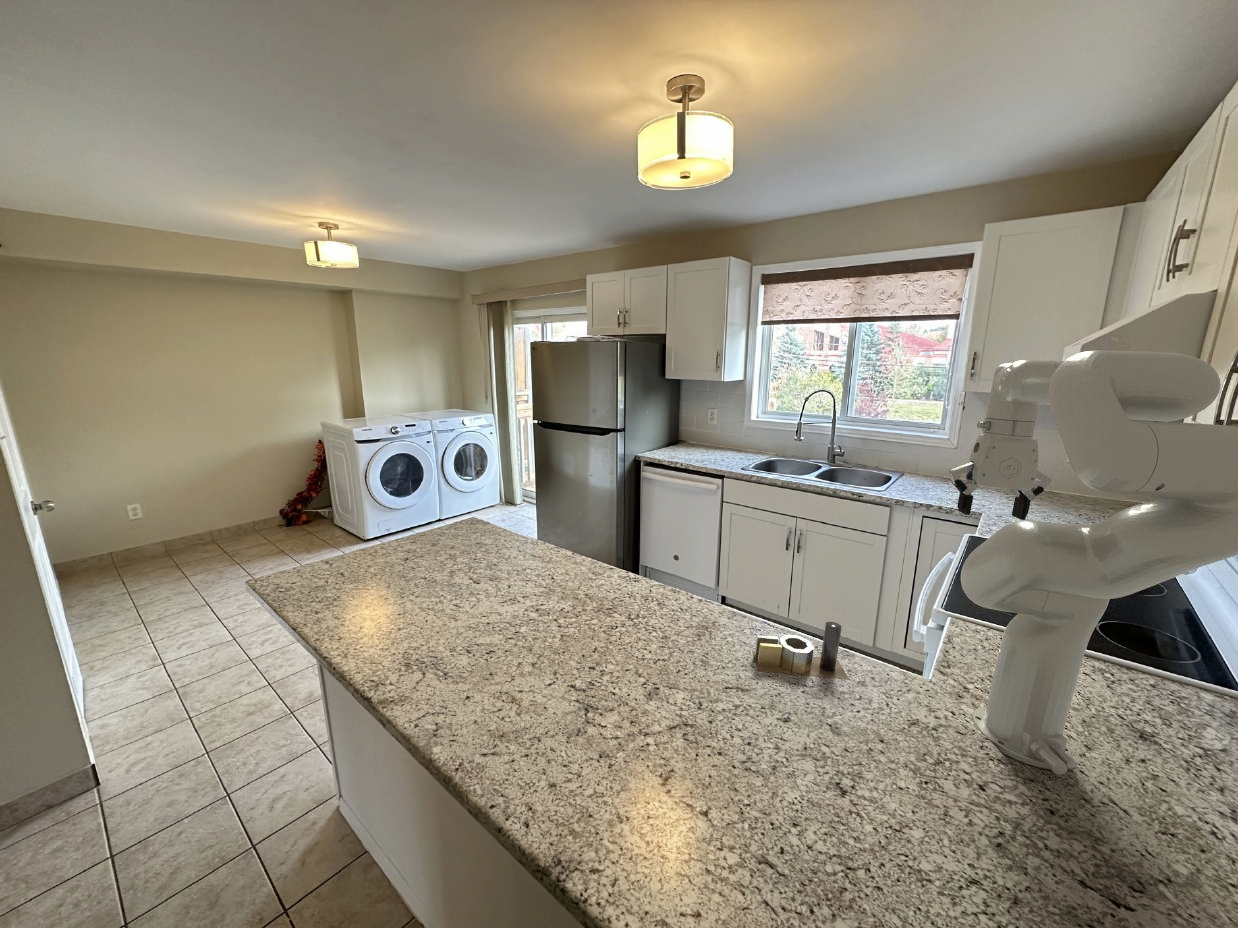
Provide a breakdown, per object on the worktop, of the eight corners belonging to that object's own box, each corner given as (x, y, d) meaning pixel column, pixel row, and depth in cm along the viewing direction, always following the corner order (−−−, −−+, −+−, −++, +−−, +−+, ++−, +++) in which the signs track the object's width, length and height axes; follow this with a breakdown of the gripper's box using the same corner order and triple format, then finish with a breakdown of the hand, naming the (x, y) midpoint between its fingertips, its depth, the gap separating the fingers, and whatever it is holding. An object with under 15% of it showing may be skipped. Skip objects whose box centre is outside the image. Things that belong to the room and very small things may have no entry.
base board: (848, 682, 91) (849, 679, 90) (757, 674, 92) (758, 670, 92) (836, 662, 97) (836, 658, 97) (751, 654, 98) (751, 651, 98)
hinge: (813, 674, 91) (817, 653, 90) (759, 669, 92) (762, 648, 91) (804, 656, 97) (807, 636, 96) (753, 651, 98) (755, 631, 97)
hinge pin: (837, 672, 92) (843, 629, 91) (822, 670, 93) (828, 628, 91) (832, 663, 95) (838, 622, 93) (817, 662, 95) (823, 620, 94)
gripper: (968, 428, 89) (952, 516, 92) (1074, 434, 86) (1053, 525, 89) (949, 424, 96) (934, 506, 100) (1045, 430, 94) (1027, 514, 97)
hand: (990, 515), depth 95 cm, fingers open, 9 cm apart
